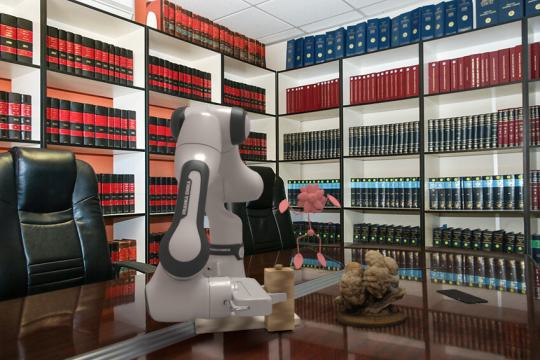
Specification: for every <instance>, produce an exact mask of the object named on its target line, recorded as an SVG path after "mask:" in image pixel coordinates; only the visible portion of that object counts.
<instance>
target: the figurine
mask: <svg viewBox="0 0 540 360" xmlns="http://www.w3.org/2000/svg"><path fill="white" fill-rule="evenodd" d="M299 190H300V192H301V193H299V194H298V195H297V199H298V202H297V207H298V208H302V207H303V211H301V212H296V211H295V210H294V209H293V208H292V206H291V205H290V203H289V201H288V200H287V199H286V198H285V199H284V200H281V202H280V203H279V205H278V206H279V207H278V210H279V211H280V214H283V213H284V212H286V211H287V210H288V208H289V209H291V211H292V212H293V214H294V215H295V216H297V215H301V214H303V213H305V214H307V221H308V224H309V228H310V229H308V230H307V233H306V234H303V235H302V236H299V237H297V238H296V244H297V254H295V256H294V257H293V264H294V267H295V269H296V270H299V269H300V268H301V267H302V266H303V263H304V258H303V254H301V253H300V249H299V247H300V246H299V239H301V238H303V237H305V236H310V237H312V236H316V237H317V238H318V239H319V250H321V245H322V243H321V242H322V241H321V237H320V236H319V235H317V234H316V233H315V231H314V229H312V225H311V220H310V213H312V214H314V215H315V214H316V213H322V211H323V210H324V207H325V205H326V203H327V201H328V199H329V201H330V202H331V204H333V205H334V206H336V207H337V208H340V209H341V208H342V207H341V206H342V205H341V204H340V202H339V201H338V199H336V197H334V196H332V195H330V194H327V195H326V196H327V197H326V196H324V194H325V189H323V188H321V189H320V185H319V184H318V183H314V185H313V184H311V183H307V185H306V186H300V188H299ZM316 256H317V261H316V262H317V263H316V267H318V266H319V263H320V265H322V266H323V267H324V268H327V264H326V263H327V262H326V259H325V257H324V256H323V254H322V253H321V252H317V254H316ZM337 270H338V268H337V269H334V270H333V272H335V271H337ZM330 272H332V270H331V271H328V273H330ZM324 273H326V271H324V272H322V271H321V272H319V274H324Z"/></svg>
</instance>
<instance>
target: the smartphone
mask: <svg viewBox="0 0 540 360" xmlns="http://www.w3.org/2000/svg"><path fill="white" fill-rule="evenodd" d="M436 293H438V294H440V295H442V296H446V297H448V298H451V299H452V300H455V301H457V302H461V303H464V304H465V303H466V305H474V304H475V305H476V303H478V304H488V303H489V301H488V300H487V299H485V298H481V297H479V296H475V295H473V294H470V293H468V292H464V291H462V290H458V289H457V288H450V289H449V288H448V289H437V290H436Z"/></svg>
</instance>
